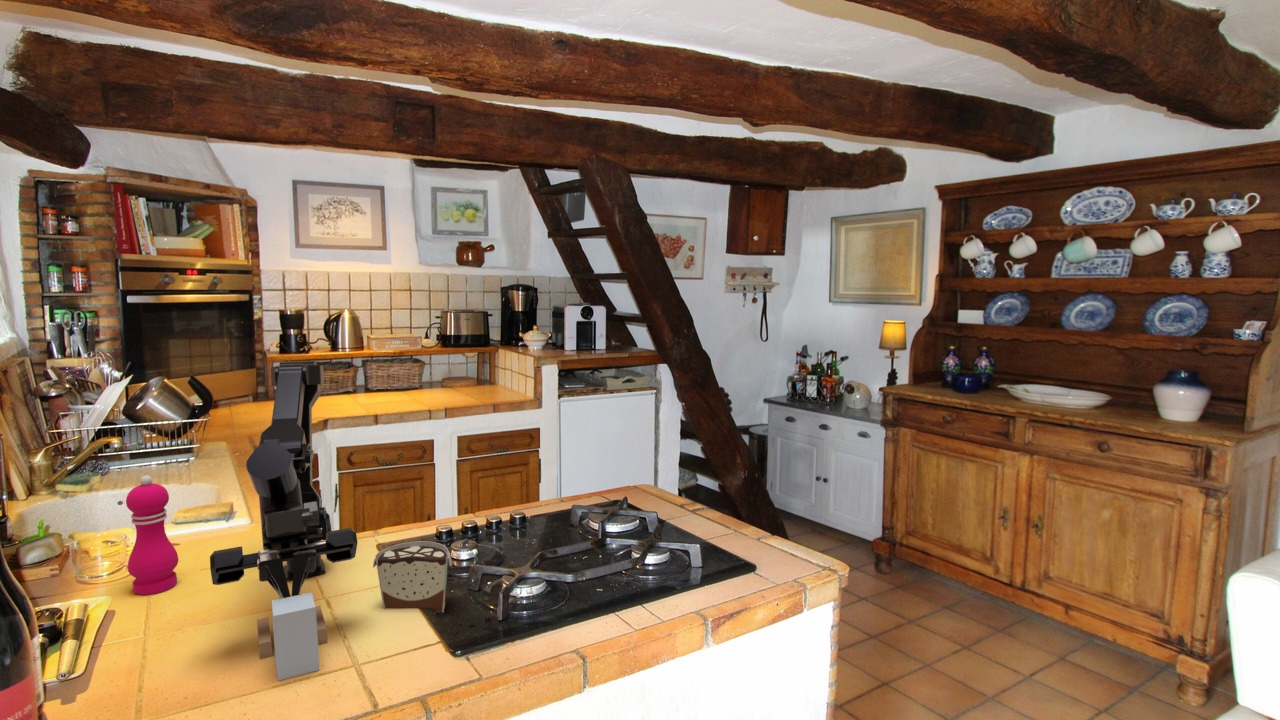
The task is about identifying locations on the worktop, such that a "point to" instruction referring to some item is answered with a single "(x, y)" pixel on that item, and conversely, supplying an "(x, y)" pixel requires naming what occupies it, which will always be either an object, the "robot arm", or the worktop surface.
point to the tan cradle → (265, 636)
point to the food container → (413, 575)
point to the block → (295, 635)
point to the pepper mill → (151, 540)
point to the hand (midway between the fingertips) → (292, 611)
